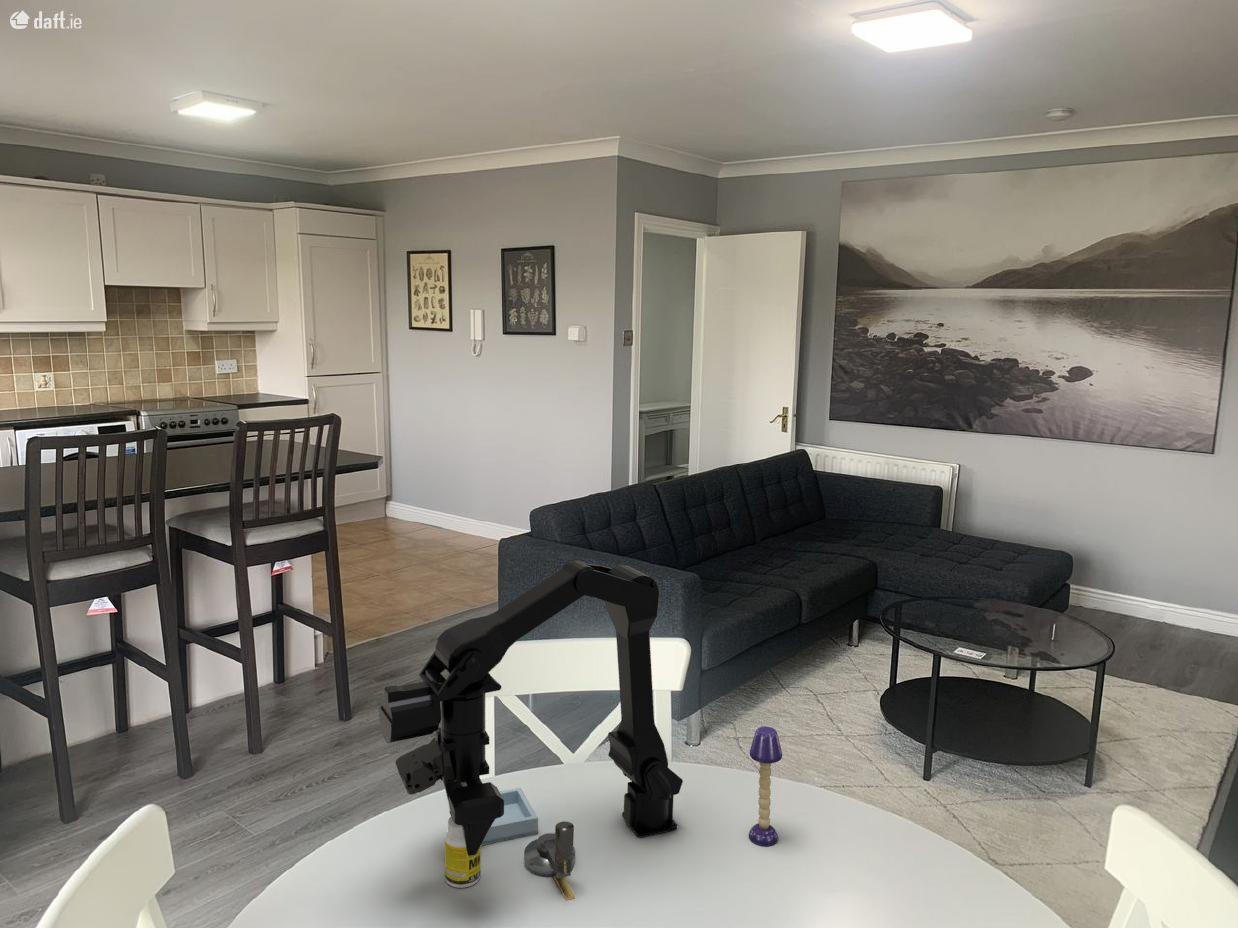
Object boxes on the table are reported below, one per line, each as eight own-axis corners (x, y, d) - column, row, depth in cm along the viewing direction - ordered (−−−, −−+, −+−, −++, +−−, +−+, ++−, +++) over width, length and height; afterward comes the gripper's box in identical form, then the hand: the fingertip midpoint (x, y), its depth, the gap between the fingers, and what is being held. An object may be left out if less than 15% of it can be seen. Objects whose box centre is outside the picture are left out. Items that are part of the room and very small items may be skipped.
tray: (520, 802, 139) (520, 787, 139) (537, 833, 131) (538, 817, 131) (462, 813, 136) (462, 797, 136) (477, 845, 128) (477, 829, 127)
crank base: (565, 842, 129) (565, 832, 129) (595, 893, 118) (596, 882, 118) (518, 852, 127) (518, 842, 126) (544, 905, 115) (544, 894, 115)
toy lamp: (741, 841, 131) (747, 733, 128) (749, 824, 135) (755, 720, 132) (774, 849, 129) (780, 740, 126) (781, 832, 133) (787, 726, 130)
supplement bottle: (473, 891, 118) (473, 832, 116) (439, 885, 119) (439, 827, 117) (485, 869, 122) (486, 812, 121) (453, 864, 123) (452, 808, 122)
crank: (533, 843, 125) (534, 796, 124) (558, 839, 127) (559, 792, 126) (553, 884, 117) (553, 833, 116) (579, 878, 118) (580, 828, 117)
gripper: (389, 705, 122) (391, 810, 125) (413, 769, 106) (414, 890, 108) (470, 693, 127) (470, 796, 129) (505, 753, 110) (505, 870, 112)
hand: (463, 835), depth 120 cm, fingers open, 9 cm apart
